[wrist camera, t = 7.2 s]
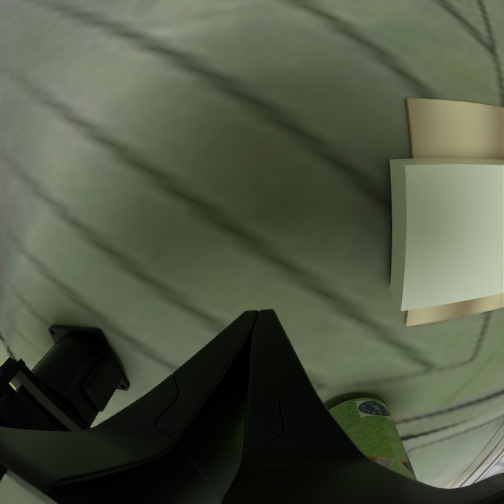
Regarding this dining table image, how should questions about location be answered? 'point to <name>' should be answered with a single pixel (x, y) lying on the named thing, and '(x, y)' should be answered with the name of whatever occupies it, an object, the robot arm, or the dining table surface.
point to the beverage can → (374, 432)
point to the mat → (454, 146)
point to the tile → (446, 230)
